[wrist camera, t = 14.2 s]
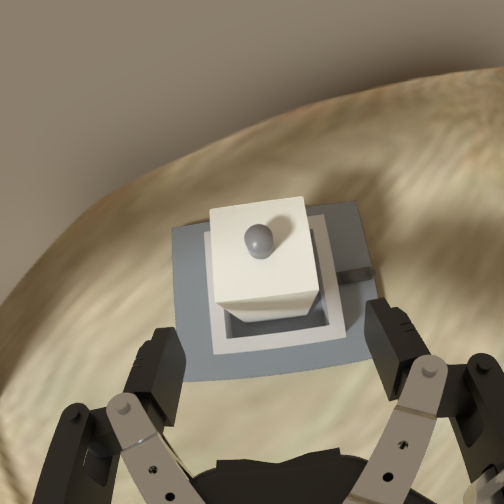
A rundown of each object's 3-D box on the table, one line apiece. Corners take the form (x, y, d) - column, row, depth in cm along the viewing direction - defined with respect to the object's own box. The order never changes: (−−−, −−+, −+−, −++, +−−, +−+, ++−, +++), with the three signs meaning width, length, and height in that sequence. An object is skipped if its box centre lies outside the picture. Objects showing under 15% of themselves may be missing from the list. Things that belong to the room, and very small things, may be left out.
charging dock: (185, 380, 23) (168, 384, 20) (176, 233, 27) (161, 216, 24) (382, 355, 22) (397, 355, 18) (352, 207, 26) (360, 186, 23)
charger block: (245, 323, 23) (207, 297, 12) (240, 265, 24) (203, 197, 14) (306, 315, 22) (322, 283, 12) (298, 257, 24) (303, 183, 13)
